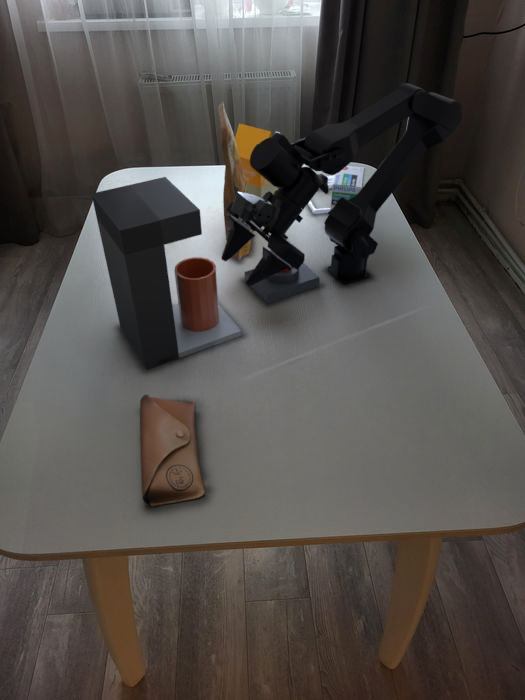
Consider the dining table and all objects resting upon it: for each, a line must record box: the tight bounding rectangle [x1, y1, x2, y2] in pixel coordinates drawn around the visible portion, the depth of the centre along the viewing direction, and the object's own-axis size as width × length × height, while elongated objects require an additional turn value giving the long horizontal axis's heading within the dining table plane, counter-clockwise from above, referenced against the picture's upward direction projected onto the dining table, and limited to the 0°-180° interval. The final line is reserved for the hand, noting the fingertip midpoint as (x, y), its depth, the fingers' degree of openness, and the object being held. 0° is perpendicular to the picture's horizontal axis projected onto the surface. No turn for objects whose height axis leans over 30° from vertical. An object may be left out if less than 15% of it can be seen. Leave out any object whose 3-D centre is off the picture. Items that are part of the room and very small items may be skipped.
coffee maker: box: [91, 176, 242, 371], centre depth 92 cm, size 18×13×26 cm
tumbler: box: [174, 256, 220, 332], centre depth 97 cm, size 7×7×11 cm
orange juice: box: [234, 122, 279, 198], centre depth 128 cm, size 8×9×20 cm
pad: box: [244, 262, 321, 304], centre depth 110 cm, size 12×9×4 cm
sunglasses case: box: [139, 394, 206, 507], centre depth 79 cm, size 18×7×7 cm
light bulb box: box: [330, 165, 366, 211], centre depth 128 cm, size 11×7×11 cm, turn 169°
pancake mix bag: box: [218, 100, 253, 261], centre depth 115 cm, size 7×19×28 cm, turn 178°
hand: (235, 272), depth 98 cm, fingers open, 9 cm apart
